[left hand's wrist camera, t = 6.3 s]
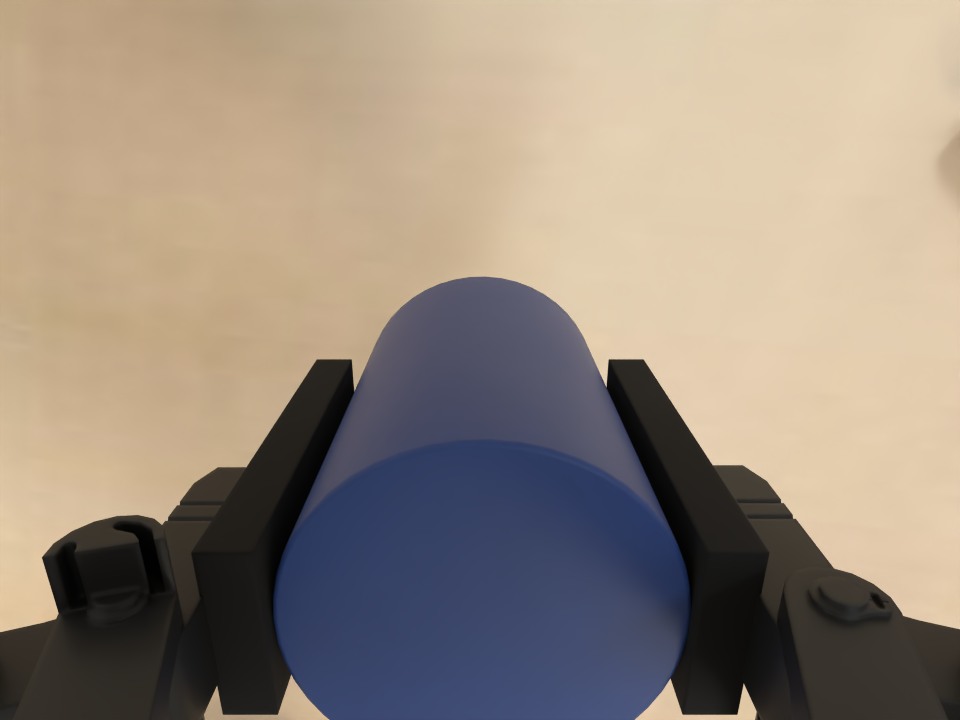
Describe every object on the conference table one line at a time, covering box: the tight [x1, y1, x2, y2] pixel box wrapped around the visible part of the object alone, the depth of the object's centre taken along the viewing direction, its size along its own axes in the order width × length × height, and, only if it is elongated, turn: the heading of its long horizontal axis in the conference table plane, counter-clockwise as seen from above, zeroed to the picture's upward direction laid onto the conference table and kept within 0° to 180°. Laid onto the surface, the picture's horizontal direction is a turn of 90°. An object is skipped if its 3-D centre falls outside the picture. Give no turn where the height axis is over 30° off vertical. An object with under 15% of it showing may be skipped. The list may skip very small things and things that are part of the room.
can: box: [273, 277, 691, 720], centre depth 12 cm, size 6×6×8 cm
